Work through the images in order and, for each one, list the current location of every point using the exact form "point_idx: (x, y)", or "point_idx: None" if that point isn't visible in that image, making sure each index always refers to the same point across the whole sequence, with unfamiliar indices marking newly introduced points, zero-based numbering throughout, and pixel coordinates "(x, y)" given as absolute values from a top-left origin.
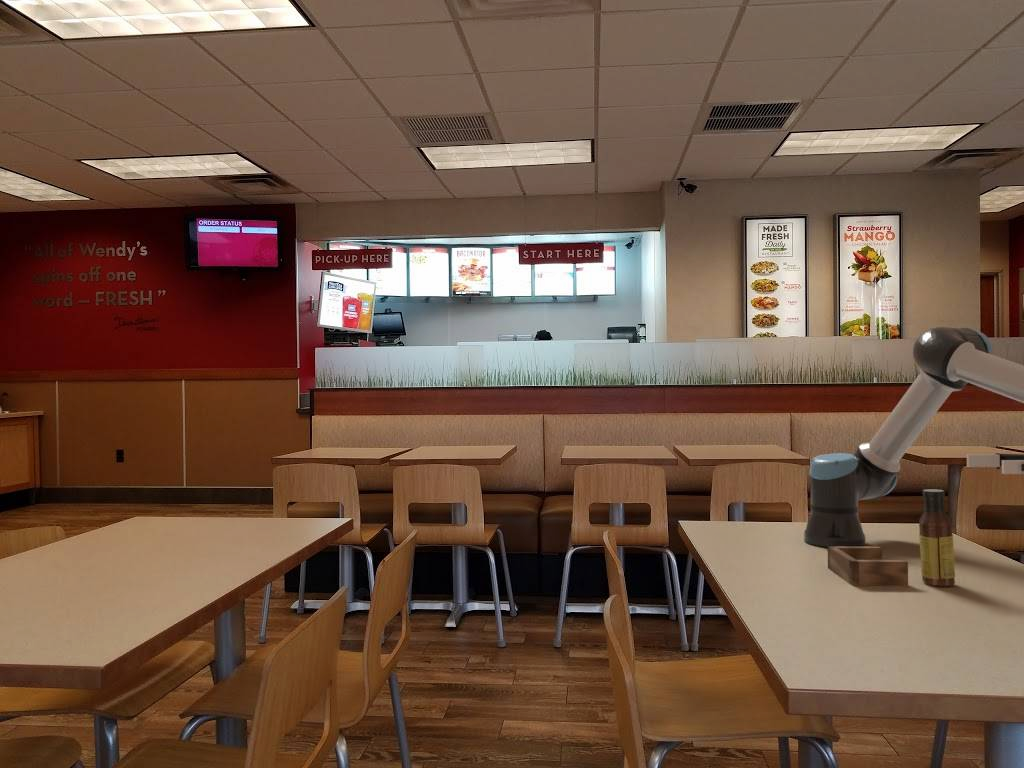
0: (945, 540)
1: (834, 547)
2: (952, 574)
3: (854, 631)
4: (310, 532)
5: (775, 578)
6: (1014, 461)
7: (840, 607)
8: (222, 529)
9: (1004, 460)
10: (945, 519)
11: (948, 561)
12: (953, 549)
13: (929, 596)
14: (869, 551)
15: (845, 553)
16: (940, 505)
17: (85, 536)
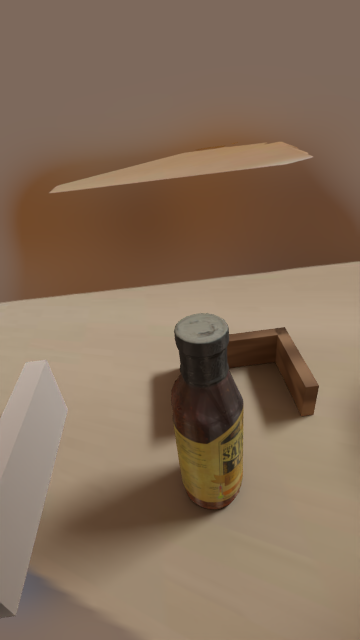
0: (174, 427)
1: (279, 333)
2: (187, 487)
3: (4, 349)
4: (270, 163)
5: (204, 311)
6: (8, 410)
7: (83, 348)
8: (262, 153)
9: (30, 366)
10: (178, 397)
11: (180, 462)
12: (195, 463)
13: (125, 444)
14: (296, 375)
15: (235, 340)
16: (181, 364)
17: (228, 147)
